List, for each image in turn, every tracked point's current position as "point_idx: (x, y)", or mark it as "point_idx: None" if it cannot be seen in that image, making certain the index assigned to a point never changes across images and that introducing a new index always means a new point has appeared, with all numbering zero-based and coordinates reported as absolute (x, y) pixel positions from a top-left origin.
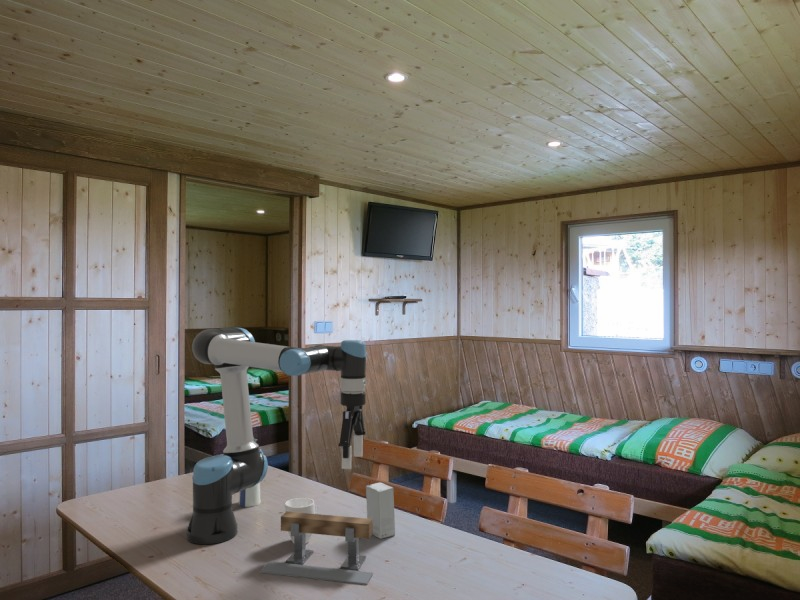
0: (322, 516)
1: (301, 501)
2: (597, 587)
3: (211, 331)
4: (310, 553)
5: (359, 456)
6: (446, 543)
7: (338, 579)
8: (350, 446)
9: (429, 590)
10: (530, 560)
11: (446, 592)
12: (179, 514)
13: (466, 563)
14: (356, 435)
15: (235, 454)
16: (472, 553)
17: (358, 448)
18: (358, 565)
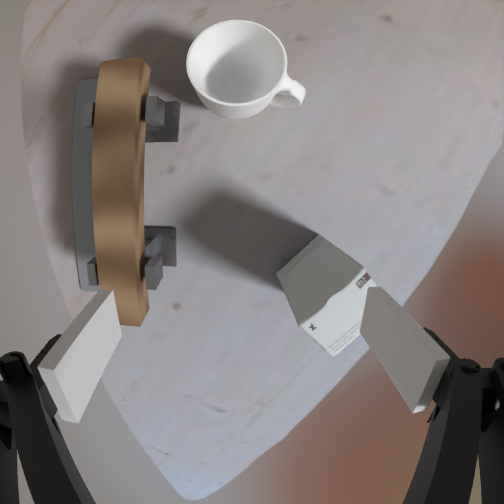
0: (118, 180)
1: (278, 57)
2: (186, 490)
3: None
4: (161, 141)
5: (362, 320)
6: (274, 385)
7: (76, 238)
8: (65, 418)
9: (104, 373)
10: (234, 462)
11: (109, 391)
12: None
13: (203, 413)
14: (433, 377)
15: None
16: (241, 417)
17: (382, 339)
18: None
